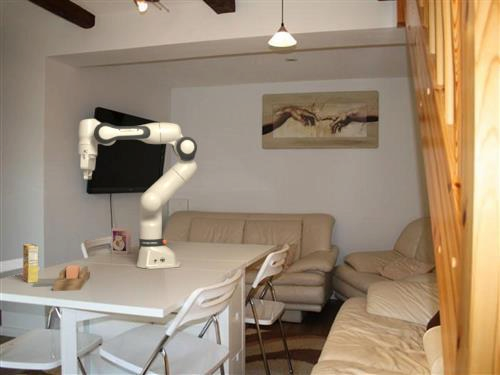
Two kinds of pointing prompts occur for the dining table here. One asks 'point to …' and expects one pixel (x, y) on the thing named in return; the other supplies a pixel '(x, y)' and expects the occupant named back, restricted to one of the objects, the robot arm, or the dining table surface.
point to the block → (72, 272)
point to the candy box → (30, 263)
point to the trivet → (45, 282)
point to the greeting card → (121, 240)
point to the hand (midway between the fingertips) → (87, 179)
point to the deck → (71, 280)
